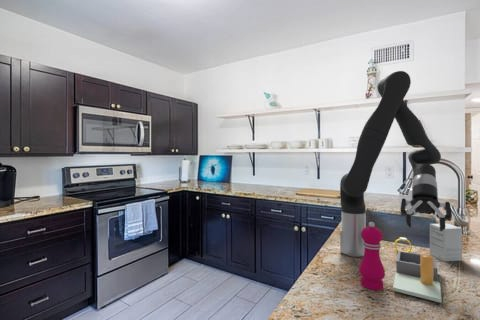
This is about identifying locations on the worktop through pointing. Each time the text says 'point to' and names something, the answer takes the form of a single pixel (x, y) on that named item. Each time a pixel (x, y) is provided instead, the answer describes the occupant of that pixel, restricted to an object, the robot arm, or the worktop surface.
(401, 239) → the watch
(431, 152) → the robot arm
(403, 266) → the parts tub
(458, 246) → the supplement box
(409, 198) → the supplement box
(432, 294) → the lid
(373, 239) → the pepper mill
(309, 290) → the worktop surface
